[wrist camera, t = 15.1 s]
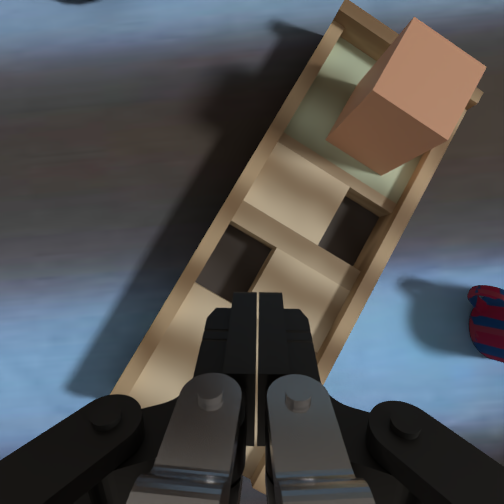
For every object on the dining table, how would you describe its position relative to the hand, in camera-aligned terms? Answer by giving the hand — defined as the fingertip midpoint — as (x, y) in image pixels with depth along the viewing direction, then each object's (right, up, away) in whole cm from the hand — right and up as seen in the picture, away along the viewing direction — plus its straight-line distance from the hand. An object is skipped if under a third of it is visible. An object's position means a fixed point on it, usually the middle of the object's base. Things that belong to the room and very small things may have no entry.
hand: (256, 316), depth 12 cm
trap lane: (+3, +2, +23) cm, 23 cm away
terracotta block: (+10, +13, +22) cm, 27 cm away
